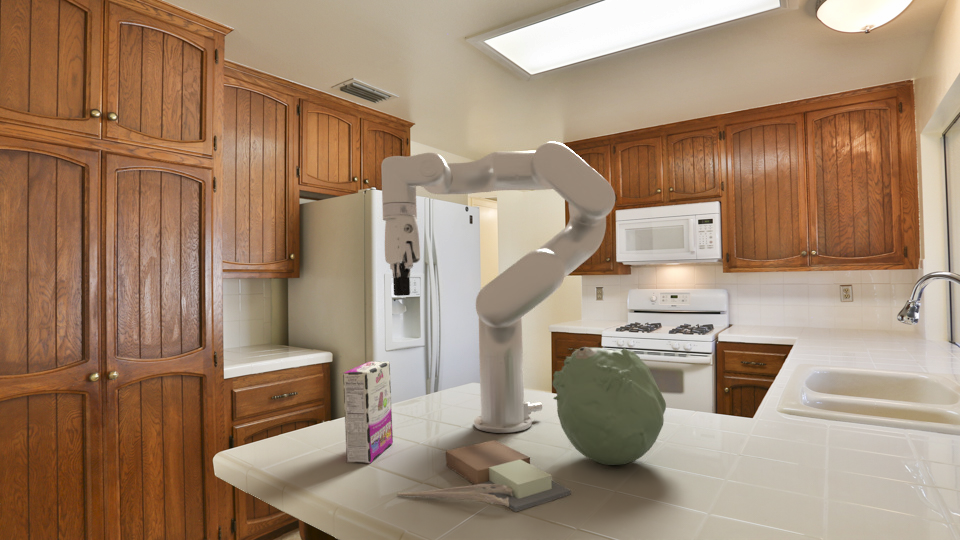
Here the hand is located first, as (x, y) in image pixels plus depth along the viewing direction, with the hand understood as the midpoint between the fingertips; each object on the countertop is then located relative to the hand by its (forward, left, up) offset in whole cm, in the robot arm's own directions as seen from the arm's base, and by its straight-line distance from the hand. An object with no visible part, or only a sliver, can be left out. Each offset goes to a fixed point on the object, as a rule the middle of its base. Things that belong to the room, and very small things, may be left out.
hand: (401, 295), depth 111 cm
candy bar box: (+12, +12, -29) cm, 34 cm away
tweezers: (+8, +39, -29) cm, 49 cm away
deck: (-2, +32, -29) cm, 43 cm away
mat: (-2, +42, -29) cm, 51 cm away
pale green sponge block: (-2, +41, -28) cm, 49 cm away
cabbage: (-21, +41, -29) cm, 55 cm away
